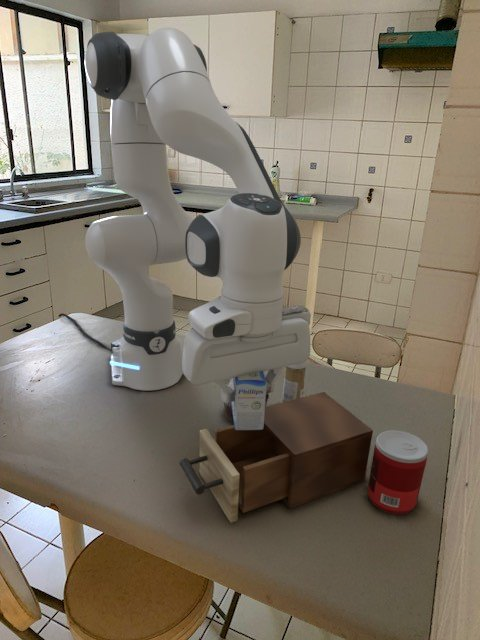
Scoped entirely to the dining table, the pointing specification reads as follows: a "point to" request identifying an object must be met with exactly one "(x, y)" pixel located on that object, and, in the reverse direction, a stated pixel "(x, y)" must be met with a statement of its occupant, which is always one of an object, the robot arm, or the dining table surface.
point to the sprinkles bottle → (294, 381)
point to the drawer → (240, 469)
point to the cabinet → (319, 445)
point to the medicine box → (249, 401)
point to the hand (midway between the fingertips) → (247, 396)
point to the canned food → (397, 471)
